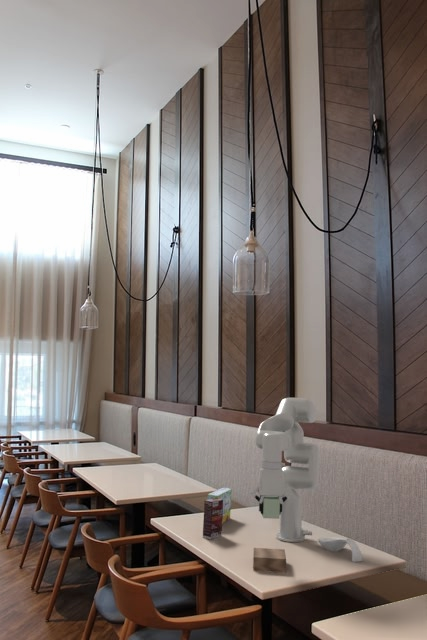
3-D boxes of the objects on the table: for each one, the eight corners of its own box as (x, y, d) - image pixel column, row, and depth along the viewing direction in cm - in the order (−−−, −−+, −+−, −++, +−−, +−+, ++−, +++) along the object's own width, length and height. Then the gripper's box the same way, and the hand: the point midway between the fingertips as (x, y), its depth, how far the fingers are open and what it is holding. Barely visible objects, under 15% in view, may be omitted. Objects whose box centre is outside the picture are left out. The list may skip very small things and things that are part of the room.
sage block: (277, 514, 216) (277, 496, 217) (279, 518, 210) (279, 499, 211) (261, 514, 216) (262, 495, 216) (263, 518, 210) (264, 499, 211)
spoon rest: (312, 546, 239) (313, 529, 240) (335, 544, 244) (335, 527, 245) (346, 563, 218) (346, 544, 218) (370, 561, 222) (370, 542, 223)
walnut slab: (284, 562, 216) (284, 549, 217) (285, 573, 204) (286, 559, 205) (253, 560, 217) (253, 547, 218) (253, 571, 205) (253, 557, 206)
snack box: (216, 528, 262) (217, 495, 264) (205, 526, 264) (206, 494, 266) (231, 518, 282) (232, 488, 283) (220, 517, 284) (221, 486, 285)
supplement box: (210, 539, 243) (212, 502, 245) (202, 537, 246) (203, 500, 248) (222, 535, 250) (223, 499, 252) (214, 533, 253) (215, 497, 255)
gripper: (292, 465, 219) (291, 512, 217) (248, 463, 218) (247, 510, 216) (295, 467, 212) (294, 516, 210) (250, 466, 211) (249, 515, 209)
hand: (270, 513), depth 213 cm, fingers closed on sage block, 6 cm apart
